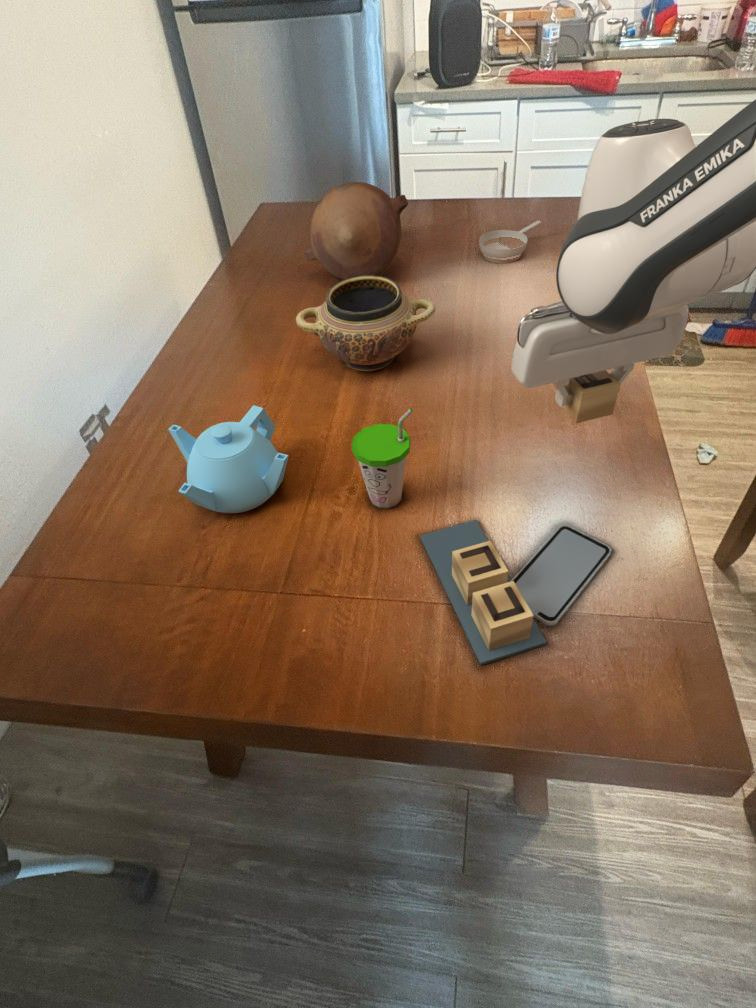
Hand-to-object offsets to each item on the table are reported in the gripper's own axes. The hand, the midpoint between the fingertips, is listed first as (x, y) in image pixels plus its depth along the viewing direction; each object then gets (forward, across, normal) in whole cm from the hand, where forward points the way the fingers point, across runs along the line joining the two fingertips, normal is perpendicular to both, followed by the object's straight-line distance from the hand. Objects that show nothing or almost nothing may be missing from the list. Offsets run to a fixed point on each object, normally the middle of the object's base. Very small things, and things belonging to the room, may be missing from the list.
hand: (586, 397), depth 75 cm
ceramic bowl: (+15, -18, +42) cm, 48 cm away
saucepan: (+15, +26, +74) cm, 80 cm away
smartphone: (+15, -9, -14) cm, 23 cm away
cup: (+15, -25, +6) cm, 30 cm away
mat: (+15, -19, -12) cm, 27 cm away
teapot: (+15, -45, +16) cm, 50 cm away
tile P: (+2, 0, 0) cm, 2 cm away
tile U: (+14, -19, -13) cm, 27 cm away
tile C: (+14, -19, -19) cm, 30 cm away
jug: (+15, -8, +81) cm, 82 cm away
